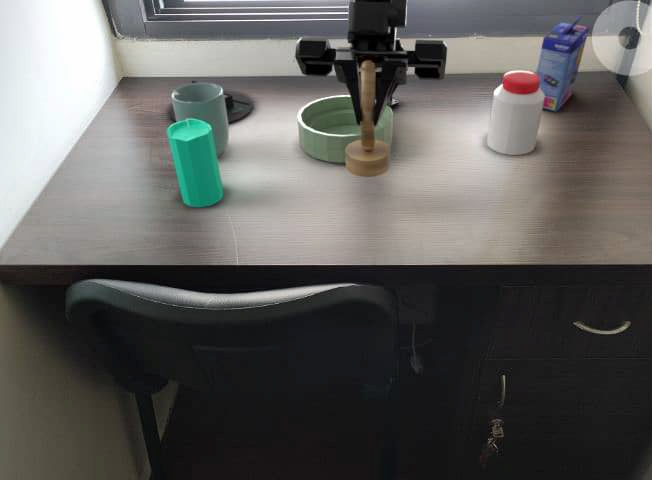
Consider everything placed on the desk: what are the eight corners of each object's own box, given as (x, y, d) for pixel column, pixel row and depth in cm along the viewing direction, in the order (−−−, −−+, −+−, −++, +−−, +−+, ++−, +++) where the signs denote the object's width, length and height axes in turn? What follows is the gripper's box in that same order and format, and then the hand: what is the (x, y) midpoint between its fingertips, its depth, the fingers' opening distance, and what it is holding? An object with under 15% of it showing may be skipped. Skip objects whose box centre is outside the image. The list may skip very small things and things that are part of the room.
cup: (222, 165, 95) (211, 104, 88) (176, 161, 96) (162, 100, 89) (239, 143, 100) (230, 83, 94) (195, 139, 102) (183, 80, 95)
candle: (184, 186, 90) (167, 109, 82) (225, 184, 90) (211, 107, 83) (179, 208, 86) (160, 129, 78) (222, 206, 86) (207, 127, 78)
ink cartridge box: (558, 113, 107) (577, 27, 97) (528, 106, 109) (543, 22, 100) (574, 93, 113) (593, 11, 104) (545, 87, 115) (561, 6, 106)
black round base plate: (153, 112, 110) (145, 82, 106) (216, 86, 119) (212, 58, 115) (205, 135, 103) (199, 104, 99) (269, 106, 111) (266, 76, 107)
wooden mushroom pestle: (348, 153, 84) (346, 50, 75) (391, 155, 83) (394, 52, 74) (343, 175, 80) (339, 69, 70) (388, 178, 79) (391, 71, 70)
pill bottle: (539, 138, 100) (553, 71, 93) (529, 159, 95) (542, 90, 87) (493, 129, 102) (503, 64, 95) (481, 149, 97) (490, 82, 90)
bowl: (348, 115, 108) (347, 87, 104) (410, 143, 99) (412, 114, 96) (281, 143, 100) (278, 114, 97) (342, 176, 92) (341, 146, 88)
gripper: (291, -35, 70) (280, 97, 69) (454, -33, 68) (444, 103, 67) (308, 15, 81) (298, 129, 80) (448, 18, 79) (439, 135, 78)
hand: (366, 124), depth 76 cm, fingers closed on wooden mushroom pestle
